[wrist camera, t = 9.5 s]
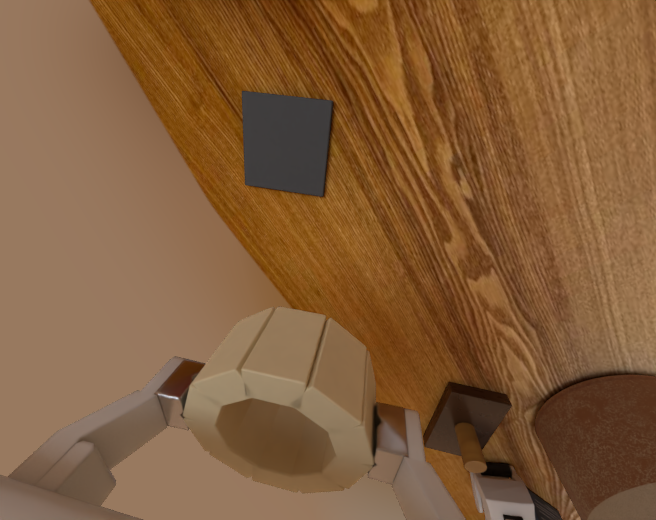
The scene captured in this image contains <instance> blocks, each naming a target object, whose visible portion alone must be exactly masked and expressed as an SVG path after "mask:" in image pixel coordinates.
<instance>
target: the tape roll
mask: <svg viewBox="0 0 656 520" xmlns="http://www.w3.org/2000/svg"><path fill="white" fill-rule="evenodd" d="M375 404H376V382H375V377H374V372H373V367H372V362H371V358H370V353H369V351H368V350H367V351H366V346H365V345H364V344H362V343H361V342H360V341H359V340H358V339H356V338H355V337H354V336H353V335H351V334H350V333H349V332H348V331H347V330H345V329H344V328H343V327H342V326H341V325H339V324H338V323H337V322H336V321H334V320H333V319H332V318H329V319H328V320H327V321H326V315H322V314H317V313H312V312H306V311H301V310H296V309H291V308H285V307H280V306H279V307H277V309H275V308H274V307H271V308H269V309H266V310H264V311H262V312H259V313H257V314H254V315H252V316H250V317H247V318H245V319H243V320H240V321H238V323H237V324H236V325H235V326H234V327H233V328H232V330H231V331H230V332H229V334H228V335H227V336H226V338H225V339H224V340H223V342H222V343H221V344H220V346H219V347H218V348H217V350H216V351H215V352H214V354H213V355H212V356H211V358H210V359H209V361H208V362H207V363H206V364H205V366H204V367H203V368H202V370H201V371H200V372H199V374H198V375H197V376H196V378H195V379H194V380H193V382H192V383H191V384H190V386H189V391H188V395H187V399H186V403H185V408H184V412H183V417H185V418H184V421H185V423H186V424H187V426H188V427H189V429H190V430H191V431H192V433H193V434H194V436H195V437H196V438H197V440H198V442H199V443H200V444H201V446H202V447H203V449H204V450H205V451H209V452H210V455H211V456H213V457H215V458H216V459H218V460H219V461H221V462H222V463H224V464H226V465H227V466H229V467H230V468H232V469H234V470H235V471H237V472H238V473H240V474H241V475H243V476H245V477H246V478H249V477H251V476H252V480H253V481H256V482H260V483H263V484H267V485H271V486H275V487H278V488H281V489H285V490H289V491H293V492H298V491H299V490H300V491H301V492H302V493H315V492H330V491H343V490H344V488H347V489H349V488H350V487H351V486H352V485H354V484H355V483H356V482H357V481H358V480H359V479H360V478H361V477H363V476H364V475H365V474H366V473H367V472H369V471H370V470H371V469H372V467H373V465H374V463H375V462H374V435H375V425H374V417H375Z"/></svg>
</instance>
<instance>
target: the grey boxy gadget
mask: <svg viewBox="0 0 656 520" xmlns="http://www.w3.org/2000/svg"><path fill="white" fill-rule="evenodd" d="M486 465H487V469H486V471H484V472H482V473H472V472H470V477H471V483H472V488H473V494H474V498H475V502H476V506H477V509H478V511H479V512H480V513H483V509H484V512H485V519H486V520H535V509H534V503H533V501H532V499H531V496H530V494H529V492H528V490H527V488H526V486H525V484H524V482H523V481H522V479H521V478H520V476H518V475H517V473H516V471H515V469H514V467H513V466H509V465H508V464H498V463H486ZM508 477H510V478H511V479H509V478H508ZM482 506H483V508H482Z"/></svg>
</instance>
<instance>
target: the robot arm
mask: <svg viewBox="0 0 656 520" xmlns="http://www.w3.org/2000/svg"><path fill="white" fill-rule="evenodd" d="M204 366H205V363H201V362H197V361H193V360H189V359H185V358H181V357H176V356H175V357H173V358H172V359H170V360H169V361H168V362H167V363H166V365H165V366H164V367H163V368H162V369H161V370H160V371H159V372H158V373H157V374H156V375H155V376H154V377H153V378H152V379H151V381H150V382H149V383H148V384H147V385H146V386H145V387H144V388H143V389H142V390H141V391H138V390H137V391H135V392H133V393H131V394H129V395H127V396H125V397H123V398H121V399H119V400H117V401H115V402H114V403H112V404H109V405H107V406H106V407H104V408H102V409H100V410H98V411H96V412H94V413H92V414H90V415H88V416H86V417H84V418H82V419H80V420H78V421H76V422H74V423H72V424H70V425H68V426H66V427H64V428H62V429H60V430H58V431H57V432H56V433H54V434H53V435H52V436H51V437H50V438H49V439H48V440H47V441H46V442H45V443H44V444H43V445H41V446H40V447H39V448H38V449H37V450H36V451H35V452H34V453H33V454H32V455H31V456H30V457H28V459H26V460H25V461H24V462H23V463H22V464H21V465H20V466H19V467H18V468H17V469H15V470H14V471H13V472H12V473H11V474H10V475H9V476H8V477H6V476H3V475H0V520H142V519H139V518H136V517H133V516H130V515H126V514H123V513H120V512H117V511H114V510H111V509H108V508H104V507H101V505H102V503H103V502H104V500H105V499H106V498H107V497H108V495H109V494H110V492H111V491H112V490H113V488H114V487H115V485H116V480H115V478H114V476H113V475H112V473H111V471H110V469H112V468H113V467H114V466H116V465H117V464H119V463H120V462H121V461H122V460H124V459H125V458H127V457H128V456H129V455H131V454H132V453H133V452H135V451H136V450H137V449H139V448H140V447H141V446H143V445H144V444H145V443H147V442H148V441H149V440H151V439H152V438H154V437H155V436H156V435H158V434H159V433H160V432H162V431H163V430H164V429H166V428H167V426H171V427H176V428H180V429H185V430H189V427H188V426H187V424H186V423H185V421H184V418H185V417H183V412H184V408H185V403H186V399H187V395H188V391H189V386H190V384H191V383H192V382H193V380H194V379H195V378H196V376H197V375H198V374H199V372H200V371H201V370H202V368H203V367H204ZM374 425H375V435H374V462H375V463H374V465H373V467H372V469H371V470H370V471H369V472H368V478H371V479H374V480H378V481H381V482H385V483H388V484H392V488H393V490H394V492H395V495H396V497H397V499H398V502H399V504H400V506H401V509H402V511H403V513H404V516H405V518H406V520H466V519H465V517H464V516H463V514H462V513H461V511H460V509H459V508H458V506H457V505H456V503H455V502H454V500H453V498H452V497H451V495H450V494H449V492H448V490H447V489H446V487H445V486H444V484H443V483H442V481H441V479H440V478H439V476H438V475H437V473H436V472H435V470H434V468H433V467H432V465H431V464H430V463H428V462H426V460H425V453H424V446H423V439H422V432H421V424H420V417H419V413H418V412H417V411H415V410H410V409H405V408H403V407H398V406H393V405H389V404H384V403H379V402H376V404H375V417H374Z"/></svg>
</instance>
